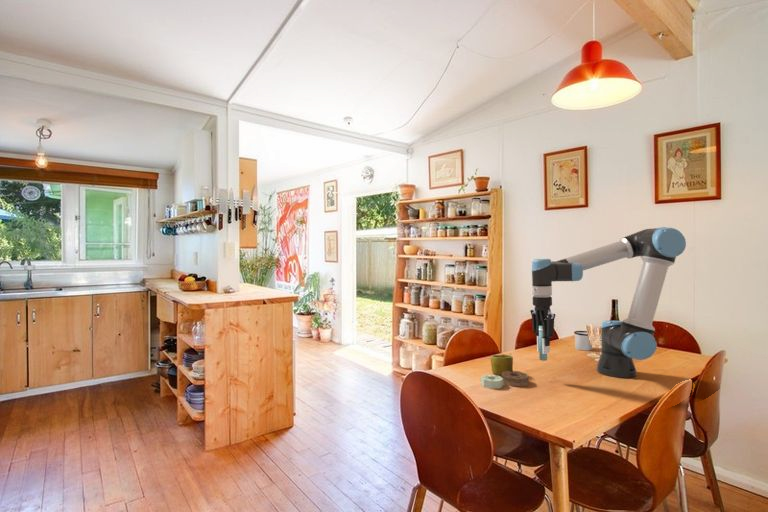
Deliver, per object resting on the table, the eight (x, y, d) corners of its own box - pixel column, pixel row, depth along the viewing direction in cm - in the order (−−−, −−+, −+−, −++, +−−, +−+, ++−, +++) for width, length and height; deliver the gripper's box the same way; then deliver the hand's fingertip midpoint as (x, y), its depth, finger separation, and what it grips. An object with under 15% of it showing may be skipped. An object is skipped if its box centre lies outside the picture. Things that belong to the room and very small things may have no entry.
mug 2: (587, 352, 214) (587, 335, 214) (570, 348, 222) (570, 332, 222) (598, 348, 221) (599, 332, 221) (581, 345, 229) (582, 329, 229)
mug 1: (518, 374, 170) (510, 351, 173) (494, 380, 172) (487, 357, 175) (517, 371, 182) (509, 349, 184) (494, 377, 184) (487, 355, 186)
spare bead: (497, 381, 168) (497, 374, 167) (505, 388, 160) (505, 380, 160) (478, 382, 167) (478, 375, 166) (486, 389, 159) (486, 381, 159)
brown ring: (526, 379, 170) (526, 371, 170) (528, 387, 160) (528, 379, 160) (501, 377, 173) (501, 370, 173) (502, 385, 163) (502, 377, 163)
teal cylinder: (546, 358, 169) (546, 325, 169) (547, 360, 166) (547, 326, 166) (539, 358, 170) (538, 325, 170) (539, 360, 167) (539, 326, 167)
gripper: (522, 294, 174) (524, 348, 175) (546, 298, 159) (547, 358, 159) (538, 293, 176) (539, 347, 177) (562, 297, 161) (564, 356, 161)
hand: (543, 352), depth 168 cm, fingers closed on teal cylinder, 3 cm apart
